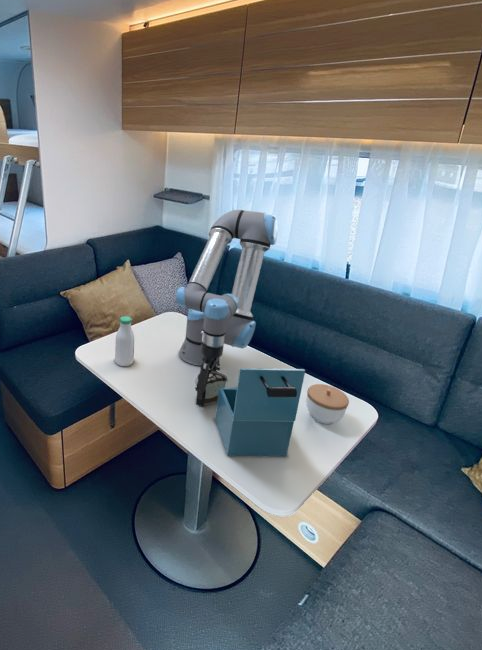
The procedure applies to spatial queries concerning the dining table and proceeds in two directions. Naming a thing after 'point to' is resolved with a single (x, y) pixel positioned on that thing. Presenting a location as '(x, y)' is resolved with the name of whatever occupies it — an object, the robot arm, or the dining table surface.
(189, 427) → the dining table surface
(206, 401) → the food container
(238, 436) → the box
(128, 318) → the milk bottle
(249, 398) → the freezer lid
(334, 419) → the lidded bowl
